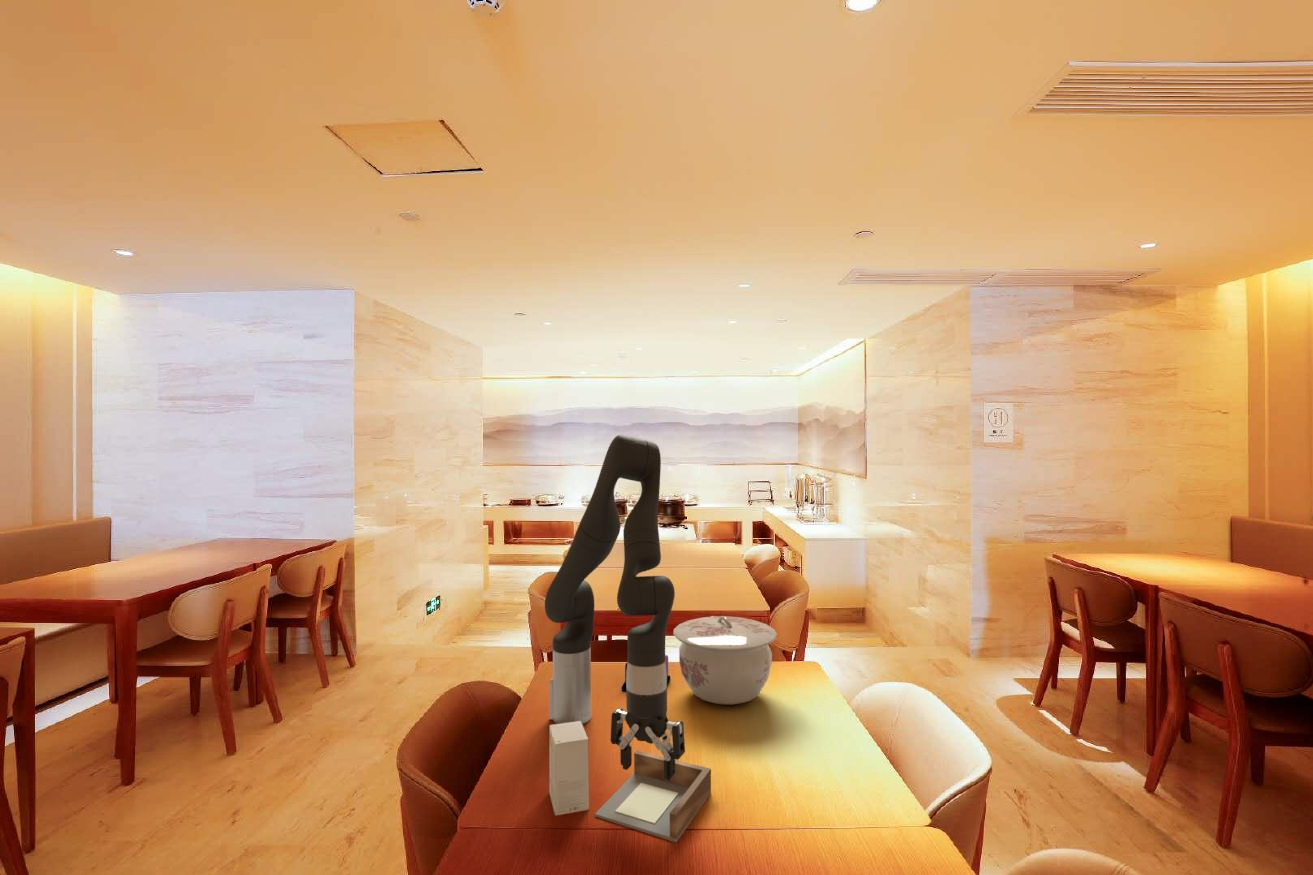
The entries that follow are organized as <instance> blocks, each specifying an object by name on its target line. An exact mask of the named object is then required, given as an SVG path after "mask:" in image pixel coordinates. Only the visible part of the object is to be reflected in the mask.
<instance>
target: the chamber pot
mask: <svg viewBox="0 0 1313 875" xmlns="http://www.w3.org/2000/svg"><path fill="white" fill-rule="evenodd" d="M673 636H674V637H675V638H676V639H677V640H678V641H679V642H680V645H679V647H678V654H679V655H678V656H679V658H678V659H679V665H680V671H681V675H682V678H683V680H684V681H685V682H686V684H687V686H688V688H689V689H690V690H691V691H692V693H693V694H694V695H695V696H696V697H698V698H699V699H700V700H702V701H705V702H708V703H712V704H717V705H723V706H724V705H726V706H727V705H729V706H731V705H738V704H739V705H740V704H744V703H747V702H750V701H752V700H754V699H755V698H757V697H758V695H759V694H760V693H761V692H762V691H763V688H764V686H765V685H766V683H767V682H768V679H769V677H770V674H771V668H772V663H773V662H772V659H773V654H772V653H773V652H772V651H771V648H770V646H769V645H770V644H772V643H773V642H775V640H776V639H777V637H778V634H777V632H776V630H775V629H774V628H773V627H771V626H770V625H769V624H767V623H764V622H761V621H758V620H754V619H751V618H750V619H749V618H745V617H739V616H728V615H727V616H726V615H720V616H719V615H718V616H717V615H716V616H715V615H711V616H704V617H699V618H694V619H690V620H689V619H688V620H686V621H683V622H681V623H679V624H678V625H677V626H676V627H675V628H674V629H673Z"/></svg>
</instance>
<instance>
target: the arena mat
mask: <svg viewBox="0 0 1313 875" xmlns="http://www.w3.org/2000/svg"><path fill="white" fill-rule="evenodd" d="M688 789H689V788H688V787H685V786H681V785H677V784H673V783H670V782H666V781H662V780H658V779H655V778H651V777H647V776H643V775H640V774H636V773H634V772H633V774H632V775H631V776H630V777H629V778H628V779H627V780H626V781H625V782H624V783H623V784H622V785H621V786H620V787H619V788H618V789H617V790H616V791H615V793H613V795H612V796H610V798H609V799H608V800H606V802H605V803H604V804H603V805H602V806H601V807H600V808H599V809H598V810H597V811H596V812H595V814H594V817H595V818H599V819H603V820H604V821H608V822H611V823H615V824H617V825H620V826H624V827H627V828H629V829H633V830H637V831H639V832H643V833H645V834H649V835H651V836H654V837H658V838H660V839H661V838H662V839H665V840H667V841H670V842H674V843H678V841H679V839H680V838H681V837H682V835H683V834H684V833H685V831H686V830H687V828H688V826H690V824H691V823H692V821H693V820H694V818H695V816H697V814H698V812H699V811H700V810H701V809H702V806H703V805H704V804H705V802H706V801H707V799H708V798H709V796H710V795H711V794H712V789H711V790H710V792H709V793H708V795H707V796H706V797H705V799H704V800H703V802H702V803H701V805H700V806H699V807H698V809H697V810H696V812H695V813H694V815H693V816H692V817H691V819H690V820H689V822H688V823H687V825H686V826H685V827H684V829H683V830H682V832H681V833H680V835H679V836H678V837H677V839H674V838H671V837H670V812H671V811H672V810H673V808H674V807H675V806H676V804H677V803H678V802H679V800H680V799H681V798H682V796H683V795H684V794H685V793H686V791H687V790H688Z"/></svg>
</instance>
